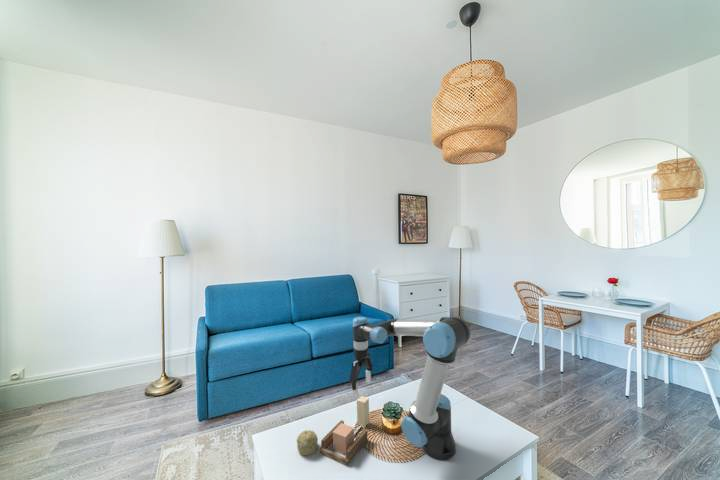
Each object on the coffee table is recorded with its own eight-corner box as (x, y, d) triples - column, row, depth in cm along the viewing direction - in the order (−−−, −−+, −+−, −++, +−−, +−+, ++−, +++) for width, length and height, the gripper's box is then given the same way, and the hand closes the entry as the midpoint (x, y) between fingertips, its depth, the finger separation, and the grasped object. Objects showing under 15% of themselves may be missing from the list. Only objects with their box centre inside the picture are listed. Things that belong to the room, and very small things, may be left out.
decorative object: (296, 455, 129) (289, 446, 123) (307, 432, 136) (301, 422, 131) (313, 463, 125) (307, 454, 120) (323, 439, 132) (318, 429, 127)
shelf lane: (367, 440, 132) (367, 429, 132) (347, 466, 118) (347, 454, 118) (341, 429, 140) (341, 420, 140) (319, 452, 125) (319, 441, 125)
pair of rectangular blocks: (371, 423, 144) (370, 398, 144) (345, 455, 124) (345, 426, 124) (359, 419, 148) (359, 395, 148) (333, 449, 127) (332, 421, 127)
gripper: (366, 338, 156) (367, 376, 156) (341, 355, 135) (342, 399, 135) (378, 341, 152) (379, 379, 152) (354, 358, 131) (355, 403, 131)
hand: (362, 388), depth 144 cm, fingers open, 13 cm apart
